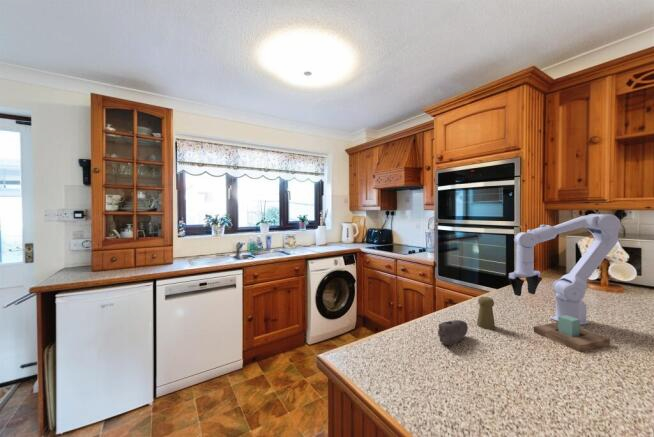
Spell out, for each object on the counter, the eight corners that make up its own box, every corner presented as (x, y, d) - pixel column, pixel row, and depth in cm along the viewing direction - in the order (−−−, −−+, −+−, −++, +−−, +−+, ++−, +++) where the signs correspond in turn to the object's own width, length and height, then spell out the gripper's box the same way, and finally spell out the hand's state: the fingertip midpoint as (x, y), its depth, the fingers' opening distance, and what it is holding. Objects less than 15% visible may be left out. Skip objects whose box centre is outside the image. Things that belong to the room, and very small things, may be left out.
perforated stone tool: (459, 332, 96) (460, 313, 95) (474, 338, 91) (474, 318, 91) (432, 343, 88) (432, 322, 88) (446, 350, 84) (446, 328, 83)
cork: (498, 330, 97) (498, 300, 97) (480, 328, 98) (480, 299, 98) (491, 323, 103) (491, 295, 103) (474, 322, 104) (474, 294, 104)
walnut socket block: (561, 327, 99) (561, 321, 99) (609, 345, 86) (610, 339, 86) (533, 332, 95) (533, 326, 95) (579, 351, 82) (579, 345, 82)
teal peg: (565, 334, 93) (565, 314, 93) (579, 339, 90) (579, 319, 89) (558, 336, 92) (558, 316, 92) (572, 341, 88) (572, 321, 88)
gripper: (528, 259, 114) (528, 290, 114) (502, 261, 110) (501, 293, 110) (545, 261, 107) (545, 295, 107) (518, 264, 103) (518, 298, 103)
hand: (524, 294), depth 108 cm, fingers open, 7 cm apart
